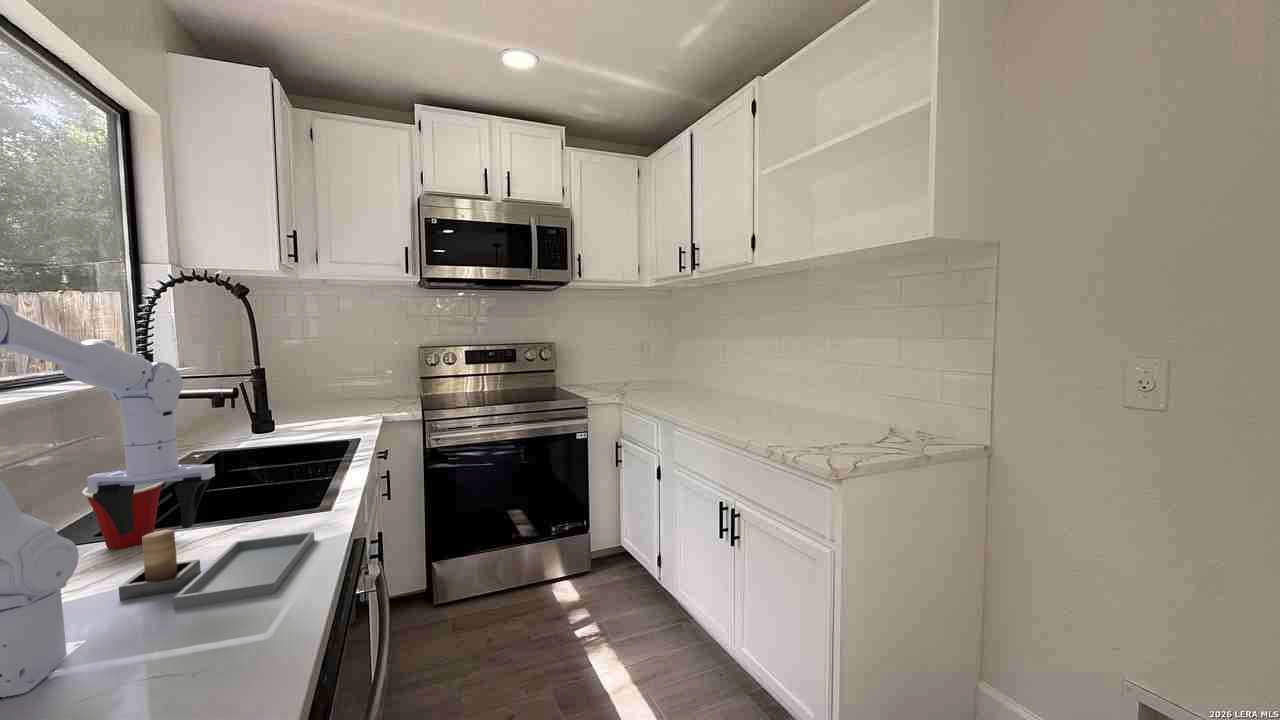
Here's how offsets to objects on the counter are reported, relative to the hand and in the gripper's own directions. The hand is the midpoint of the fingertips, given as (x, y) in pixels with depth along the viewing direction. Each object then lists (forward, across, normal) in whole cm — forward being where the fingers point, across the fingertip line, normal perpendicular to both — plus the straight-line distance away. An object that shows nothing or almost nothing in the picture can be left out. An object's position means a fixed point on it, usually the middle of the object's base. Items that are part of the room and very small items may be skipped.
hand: (157, 529), depth 77 cm
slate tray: (+9, -12, -1) cm, 15 cm away
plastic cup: (+10, +15, -22) cm, 28 cm away
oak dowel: (+9, 0, 0) cm, 9 cm away
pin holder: (+9, 0, 0) cm, 9 cm away
